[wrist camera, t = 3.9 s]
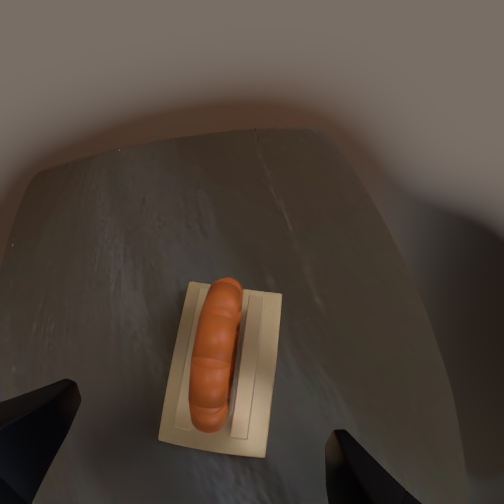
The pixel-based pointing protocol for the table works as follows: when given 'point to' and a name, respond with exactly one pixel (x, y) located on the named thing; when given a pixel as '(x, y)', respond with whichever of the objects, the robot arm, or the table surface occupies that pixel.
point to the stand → (244, 379)
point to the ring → (215, 355)
